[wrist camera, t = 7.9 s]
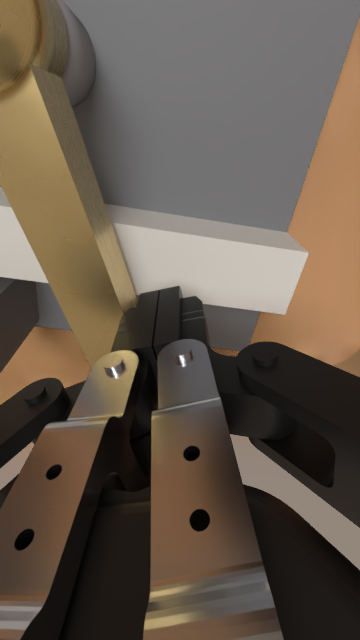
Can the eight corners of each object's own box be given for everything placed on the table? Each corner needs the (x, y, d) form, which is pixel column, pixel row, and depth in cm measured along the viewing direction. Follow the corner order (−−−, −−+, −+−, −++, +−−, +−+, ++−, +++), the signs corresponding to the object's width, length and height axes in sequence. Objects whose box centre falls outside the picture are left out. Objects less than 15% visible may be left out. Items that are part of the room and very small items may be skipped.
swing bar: (-78, -29, 8) (-185, -97, 6) (36, -71, 8) (-28, -161, 5) (97, 349, 14) (81, 392, 12) (163, 336, 14) (160, 378, 12)
